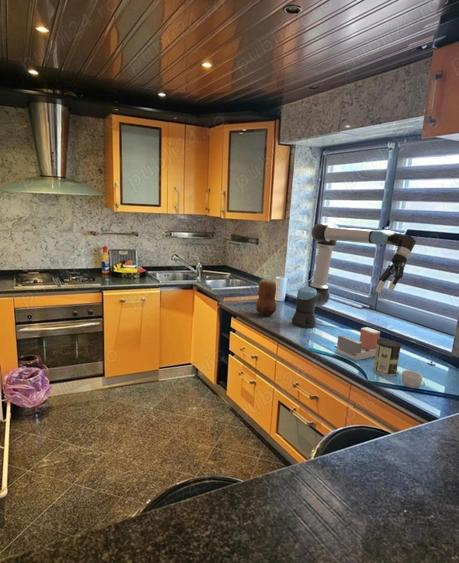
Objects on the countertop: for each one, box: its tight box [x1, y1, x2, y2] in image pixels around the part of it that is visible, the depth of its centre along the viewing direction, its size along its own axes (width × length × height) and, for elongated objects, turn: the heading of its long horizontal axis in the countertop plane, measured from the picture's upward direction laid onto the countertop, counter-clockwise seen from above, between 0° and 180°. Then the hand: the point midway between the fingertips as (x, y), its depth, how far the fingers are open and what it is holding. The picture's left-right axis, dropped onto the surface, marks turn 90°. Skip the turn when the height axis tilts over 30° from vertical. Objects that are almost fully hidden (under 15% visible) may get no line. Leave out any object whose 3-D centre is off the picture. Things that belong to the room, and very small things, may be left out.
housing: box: [336, 334, 376, 361], centre depth 197 cm, size 22×13×8 cm, turn 121°
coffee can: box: [372, 338, 402, 377], centre depth 173 cm, size 10×10×14 cm
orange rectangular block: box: [358, 326, 381, 350], centre depth 199 cm, size 5×8×10 cm, turn 31°
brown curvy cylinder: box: [255, 278, 277, 317], centre depth 255 cm, size 14×13×25 cm
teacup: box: [401, 369, 426, 389], centre depth 160 cm, size 10×8×5 cm
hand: (383, 290), depth 202 cm, fingers open, 13 cm apart
